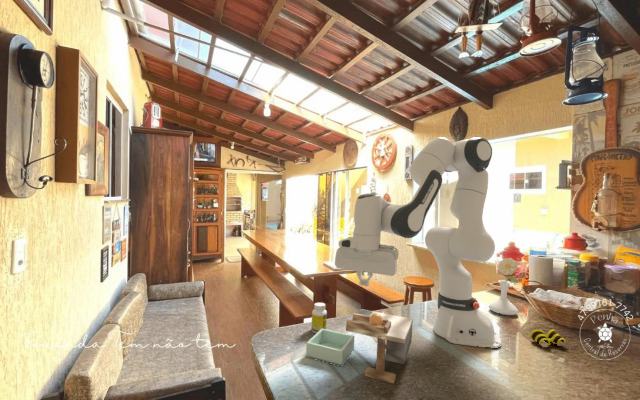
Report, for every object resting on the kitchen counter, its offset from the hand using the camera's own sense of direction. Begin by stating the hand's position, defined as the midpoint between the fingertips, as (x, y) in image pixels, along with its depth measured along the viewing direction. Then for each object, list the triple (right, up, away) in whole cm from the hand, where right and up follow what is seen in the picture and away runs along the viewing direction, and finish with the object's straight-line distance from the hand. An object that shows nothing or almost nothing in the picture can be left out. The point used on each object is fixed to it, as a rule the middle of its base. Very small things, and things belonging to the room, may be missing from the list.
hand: (364, 285), depth 104 cm
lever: (+4, -17, -6) cm, 18 cm away
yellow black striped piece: (+65, -23, +8) cm, 70 cm away
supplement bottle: (-15, -20, +12) cm, 28 cm away
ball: (+2, -8, -10) cm, 13 cm away
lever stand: (+6, -21, -7) cm, 23 cm away
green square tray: (-11, -21, -3) cm, 24 cm away
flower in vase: (+67, -22, +36) cm, 79 cm away
